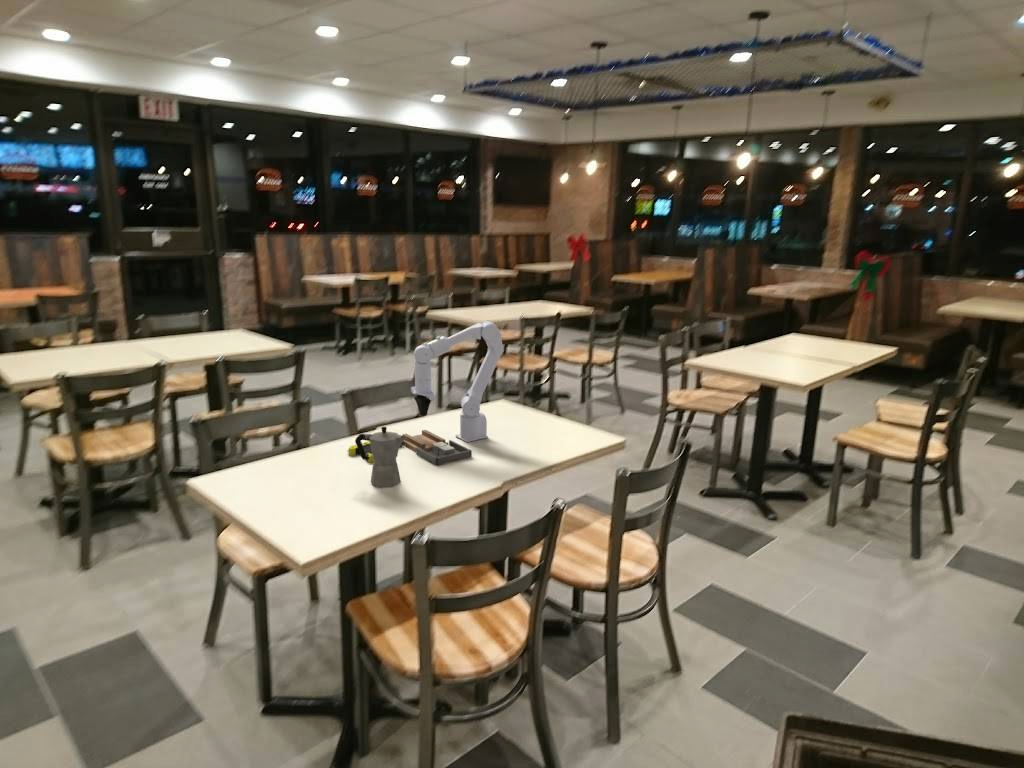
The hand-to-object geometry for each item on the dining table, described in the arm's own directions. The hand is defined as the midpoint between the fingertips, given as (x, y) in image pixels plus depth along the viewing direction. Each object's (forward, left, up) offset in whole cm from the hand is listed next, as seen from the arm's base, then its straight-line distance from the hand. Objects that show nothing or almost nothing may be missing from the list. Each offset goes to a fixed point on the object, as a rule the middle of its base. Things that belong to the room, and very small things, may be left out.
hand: (423, 415), depth 243 cm
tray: (+3, +19, -9) cm, 21 cm away
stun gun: (+19, +3, -10) cm, 22 cm away
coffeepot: (+31, +28, -10) cm, 43 cm away
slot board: (+3, +5, -9) cm, 11 cm away
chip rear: (+3, +16, -9) cm, 19 cm away
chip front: (+3, +21, -9) cm, 23 cm away
